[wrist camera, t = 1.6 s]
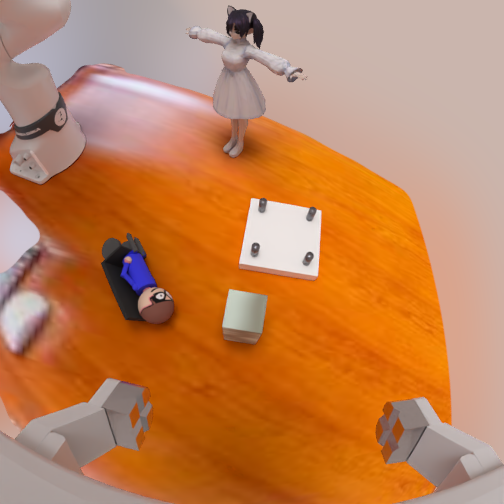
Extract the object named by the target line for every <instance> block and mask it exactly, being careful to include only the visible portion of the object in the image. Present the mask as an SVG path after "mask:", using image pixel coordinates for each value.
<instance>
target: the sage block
mask: <svg viewBox="0 0 504 504" xmlns="http://www.w3.org/2000/svg"><path fill="white" fill-rule="evenodd" d="M266 303H267V295H260V294H254V293H248V292H242V291H237V290H231V289H229V293H228V298H227V304H226V309H225V314H224V320H223V325H222V329H223V335H224V339H225V340H231V341H236V342H242V343H248V344H256V342H257V341H258V339H259V338H260V336H261V334H262V330H263V324H264V317H265V310H266Z"/></svg>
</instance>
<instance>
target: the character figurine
mask: <svg viewBox="0 0 504 504" xmlns="http://www.w3.org/2000/svg"><path fill="white" fill-rule="evenodd" d="M126 237H127V239H128V241H126V242H124V243H123V244H122V245H121V243H120V241H119V240H117V239H115V238H110V239H108V240H107V241H106V242H105V243H104V245H103V248H102V255H103V257H104V258H105V260H104V261H103V262H102V263H101V264H102V267H103V269H104V272H105V274H106V277H107V279H108V282H109V284H110V286H111V289H112V291H113V293H114V296H115V298H116V300H117V302H118V305H119V307H120V309H121V311H122V313H123V316H124V318H125V320H134V321H147V322H149V323H153V324H160V323H163V322H165V321H167V320H168V319H169V318H170V317H171V315H172V314H173V311H174V301H173V299H172V297H171V295H170V294H169V293H168V292H167V291H166V290H164V289H162V288H157V285H156V283H155V279H154V278H153V277H152V275H151V273H150V271H149V269H148V267H147V265H146V263H145V261H144V259H145V258H146V253H145V251H144V249H143V247H142V245H141V243H140V241H139V239H138V238H136V237H135V238H134V240H133V238H132V236H131V234H129V233H127V236H126ZM139 252H140V253H139Z"/></svg>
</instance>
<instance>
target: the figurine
mask: <svg viewBox="0 0 504 504" xmlns="http://www.w3.org/2000/svg"><path fill="white" fill-rule="evenodd" d="M227 13H228V20H227V22H226V24H227V26H226V30H227V34H228V35H229V36H231V37H232V38H229V37H227V36H224V35H222V34H220V33H218V32H216V31H214V30H211V29H208V28H205V29H201V27H198V26H194V27H193V28H190V29H189V28H187V29H186V30H188V31H189V33H186V34H189V36H190V38H192V39H197V38H198V39H199V40H201V41H202V42H205V43H214V44H218V45H221V46H223V47H224V49H225V50H224V51H223V53H222V56H221V57H222V60H223V63H224V66H225V67H224V68H223V70H222V72H221V75H220V76H219V79H218V81H217V84H216V87H215V90H214V94H213V107H214V109H215V111H216V112H217V113H218V114H219V115H221V116H223V117H225V118H229V119H231V124H232V137H231V139H230V141H229V142H228V143H227V144H226V145H225V146H224V148H223V150H224V152H225V153H229V155H230V157H232V158H234V157H237V156H238V155H239V154H240V153H241V151H242V150H243V145H244V143H243V138H244V135H245V132H246V129H247V126H248V119H254V118H258V117H260V116H262V115H263V114H264V112H265V110H266V108H265V98H264V96H263V94H262V92H261V90H260V88H259V86H258V84H257V83H256V81H255V79H254V78H253V76H252V75H251V73H250V72H249V70H248V69H247V68H246V65H247V63H248V61H249V59H254V60H256V61H258V62H260V63H261V64H263V65H265V66H266V67H268V69H269V70H271V71H272V72H273V73H275V74H277V75H280V76H282V75H284V74H285V75H286V78H287V81H288V82H294V81H295V80H296V79H297V78H300V79H302V80H304V79H305V80H306V78H307V76H305V75H304V74H302V71H303V70H302V69H301V68H295V67H290V63H289V62H288V61H287V60H286V59H283V58H280V57H278V56H275V55H272V54H270V53H267V52H264V51H262V50H259V49H260V45H261V42H262V40H263V33H264V31H263V26H262V24H261V23H260V21H259V20H258V19H257V17H256V15H255V13H253V12H251V11H248V10H236V9H235V8H234V7H231V6H228V9H227ZM251 33H253V35H254V36H253V37H254V43H255V42H256V45H257V47H259V49H256V48H255V47H254V46H253V45H251V44H250V43H249V42H248V41H247V40H246V36H247V34H251ZM238 127H239V137H238V136H237V132H238Z"/></svg>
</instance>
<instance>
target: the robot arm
mask: <svg viewBox="0 0 504 504" xmlns="http://www.w3.org/2000/svg"><path fill="white" fill-rule="evenodd" d="M70 11H71V2H70V0H0V101H1V102H2V103H3V105H4V106H5V108H6V109H7V111H8V112H9V114H10V116H11V117H12V119H13V122H12V124H13V123H14V124H13V125H12V124H11V125H12V128H11V129H13V127H15V132H16V136H15V138H14V140H13V142H12V144H11V147H10V154H11V156H12V158H13V161H12V164H11V167H10V172H11V173H12V174H14V175H17V176H19V177H22V178H24V179H27V180H30V181H32V182H35V183H37V184H43V183H45V182H46V181H47V180H48V179H50V178H51V177H52V176H53V175H55V174H57V173H59V172H61V171H63V170H64V169H66V168H67V167H69V166H70V165H71V164H72V163H73V162H74V161H75V160H76V159H77V158H78V157H79V156H80V154H81V153H82V151H83V149H84V147H85V143H86V138H85V135H84V134H83V133H82V131H81V128H80V124H79V123H78V122H75V120H74V118H73V117H72V115H71V113H70V111H69V110H68V108H67V107H66V104H65V102H64V99H63V97H62V95H61V93H60V92H58V91H57V89H56V86H55V83H54V81H53V78H52V76H51V73H50V70H49V69H48V68H47V67H46V66H45V65H43V64H39V63H30V64H18V63H16V62H14V61H13V60H12V59H13V58H14V57H16V56H17V55H19V54H21V53H22V52H24V51H26V50H27V49H29V48H31V47H33V46H34V45H36V44H38V43H40V42H42V41H43V40H45V39H46V38H48V37H49V36H51V35H52V34H54V33H55V32H56V31H58V30H59V29H61V28H62V27H63V26H65V24H66V22H67V20H68V18H69V15H70ZM11 125H10V126H11ZM150 397H151V395H150V390H149V388H147V387H144V386H140V385H136V384H132V383H128V382H124V381H119V380H116V379H112V378H108V379H106V380H105V382H104V383H103V384H102V385H101V387H100V388H99V389H98V391H97V392H96V393H95V394H94V396H93V397H92V398H91V399H90V401H89V402H88V403H86V402H83V403H80V404H77V405H75V406H72V407H69V408H66V409H63V410H60V411H57V412H54V413H51V414H48V415H45V416H42V417H39V418H36V419H33V420H31V421H30V422H29V424H28V425H27V426H26V427H25V428H24V429H23V430H22V431H21V432H20V434H19V435H18V436H17V437H16V438H15V439H12V438H11V437H9V436H8V435H6V434H4V433H3V432H2V431H0V504H174V503H170V502H165V501H161V500H157V499H153V498H149V497H146V496H142V495H138V494H135V493H132V492H129V491H125V490H122V489H119V488H116V487H113V486H110V485H108V484H105V483H102V482H99V481H97V480H94V479H92V478H89V477H87V476H84V474H83V472H82V470H81V469H80V468H81V467H83V466H84V465H86V464H88V463H90V462H91V461H93V460H95V459H96V458H98V457H100V456H101V455H103V454H105V453H106V452H108V451H109V450H111V449H113V448H114V447H116V445H119V446H122V447H126V448H130V449H134V450H138V451H139V450H140V448H141V445H142V443H143V441H144V439H145V436H144V432H145V431H147V430H149V429H150V426H151V424H152V420H153V407H152V405H151V404H150V402H149V399H150ZM383 412H384V415H383V416H382V417H381V418H380V419H379V420H378V423H377V425H376V438H377V441H378V443H379V444H381V445H382V446H383V448H382V450H381V452H382V455H383V458H384V461H385V463H386V464H391V463H397V462H404V461H407V463H408V464H409V465H411V466H412V467H413V468H414V469H415V470H417V471H418V472H419V473H420V474H421V475H423V476H424V477H425V478H426V479H428V480H429V481H430V482H431V483H432V484H434V485H435V486H436V487H437V489H436V490H435V491H434V493H432V494H429V495H426V496H422V497H418V498H415V499H411V500H407V501H403V502H399V503H394V504H504V465H503V464H502V462H501V461H500V459H499V458H498V456H497V454H496V453H495V451H494V450H493V448H492V447H491V446H490V445H489V444H486V443H484V442H482V441H480V440H478V439H476V438H474V437H472V436H470V435H468V434H466V433H464V432H462V431H460V430H458V429H456V428H455V427H453V426H451V425H449V424H447V423H442V422H441V421H440V419H439V418H438V416H437V415H436V413H435V411H434V410H433V408H432V407H431V405H430V404H429V402H428V401H427V399H426V398H424V397H420V398H413V399H407V400H399V401H390V402H387V403H386V404H385V405H384V408H383Z"/></svg>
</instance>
